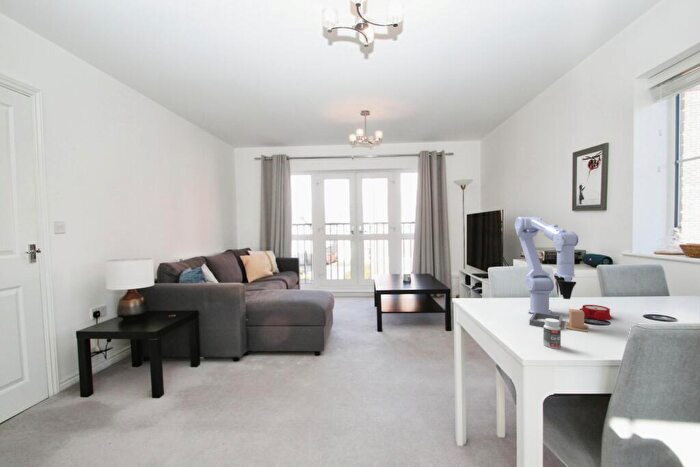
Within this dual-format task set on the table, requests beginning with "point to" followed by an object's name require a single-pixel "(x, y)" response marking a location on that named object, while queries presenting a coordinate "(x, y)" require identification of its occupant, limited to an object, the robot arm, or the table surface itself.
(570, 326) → the walnut pad
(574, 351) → the table surface
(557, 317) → the gray rectangular frame
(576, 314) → the block
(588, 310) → the alarm clock
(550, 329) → the pill bottle
